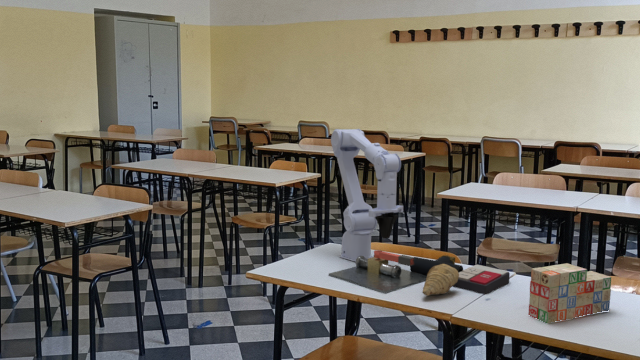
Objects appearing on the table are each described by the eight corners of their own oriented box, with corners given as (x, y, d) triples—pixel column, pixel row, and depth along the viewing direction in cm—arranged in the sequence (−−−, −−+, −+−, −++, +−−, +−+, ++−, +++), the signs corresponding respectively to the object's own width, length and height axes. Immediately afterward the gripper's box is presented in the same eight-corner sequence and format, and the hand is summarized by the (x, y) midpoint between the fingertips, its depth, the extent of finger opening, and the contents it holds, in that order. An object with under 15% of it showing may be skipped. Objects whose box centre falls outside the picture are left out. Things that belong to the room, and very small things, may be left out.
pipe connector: (427, 250, 191) (472, 258, 182) (426, 266, 192) (471, 275, 183) (410, 258, 182) (456, 267, 173) (409, 275, 183) (456, 284, 174)
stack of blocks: (588, 304, 158) (592, 259, 156) (609, 312, 152) (613, 265, 150) (527, 315, 148) (530, 267, 147) (547, 324, 143) (550, 274, 141)
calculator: (450, 274, 171) (475, 262, 182) (449, 289, 171) (475, 275, 182) (485, 283, 163) (510, 269, 174) (485, 298, 164) (509, 283, 175)
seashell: (442, 305, 155) (443, 275, 154) (413, 299, 159) (414, 269, 158) (460, 291, 166) (461, 263, 165) (432, 286, 171) (433, 258, 170)
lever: (372, 257, 181) (372, 250, 181) (377, 256, 183) (377, 249, 183) (409, 266, 172) (409, 258, 172) (414, 264, 174) (414, 257, 174)
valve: (328, 275, 179) (328, 259, 178) (375, 263, 193) (375, 248, 193) (384, 293, 163) (385, 276, 162) (431, 279, 177) (432, 262, 177)
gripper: (382, 197, 174) (380, 243, 176) (411, 193, 184) (410, 236, 186) (363, 194, 179) (362, 239, 181) (393, 190, 189) (392, 232, 191)
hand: (385, 237), depth 184 cm, fingers closed
